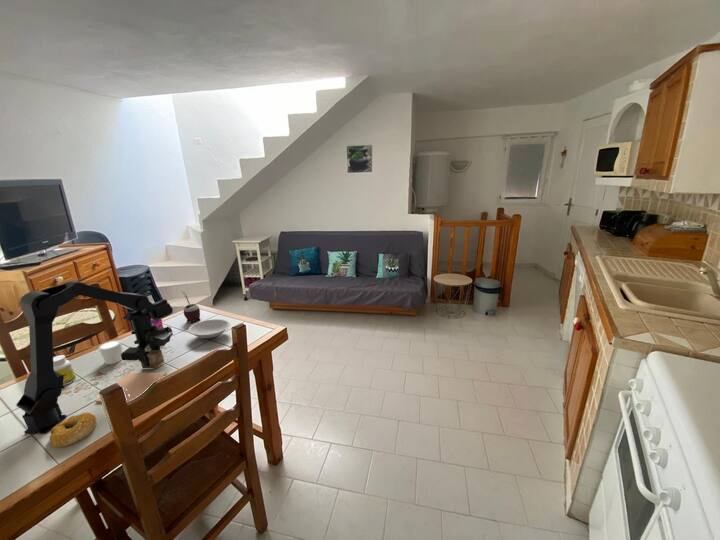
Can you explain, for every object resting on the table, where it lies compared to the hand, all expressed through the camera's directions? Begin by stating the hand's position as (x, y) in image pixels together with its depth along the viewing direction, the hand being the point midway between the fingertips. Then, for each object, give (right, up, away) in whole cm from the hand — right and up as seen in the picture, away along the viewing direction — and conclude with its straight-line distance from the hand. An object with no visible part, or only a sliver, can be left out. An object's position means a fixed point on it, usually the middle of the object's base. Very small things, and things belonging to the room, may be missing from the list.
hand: (152, 362), depth 115 cm
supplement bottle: (-25, -5, -8) cm, 27 cm away
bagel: (-2, -12, -30) cm, 32 cm away
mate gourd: (-4, +10, +35) cm, 36 cm away
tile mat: (+2, -5, -12) cm, 13 cm away
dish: (+13, +5, +20) cm, 24 cm away
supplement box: (-11, +4, +17) cm, 20 cm away
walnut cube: (0, -1, 0) cm, 1 cm away
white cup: (-18, -1, +4) cm, 18 cm away
